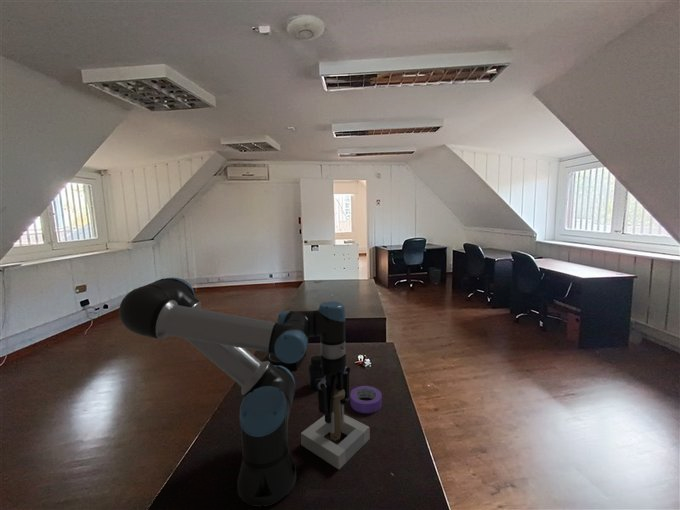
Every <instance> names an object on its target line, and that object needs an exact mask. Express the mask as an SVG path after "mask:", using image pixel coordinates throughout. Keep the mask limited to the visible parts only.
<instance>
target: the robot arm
mask: <svg viewBox="0 0 680 510" xmlns="http://www.w3.org/2000/svg"><path fill="white" fill-rule="evenodd" d="M201 303H202V302H201V301H200V300H198V299H197V297H196V295H195V290H194V288H193V287H192V285H191V284H190V283H189V282H187V280H185V279H182V278H179V277H166V278H161V279H157V280H155V281H154V282H151V283H148V284H145V285H142V286H139V287H137V288H134V289H133V290H131V291H129V292H128V293H127V294H125V296H124V298H122V300H121V302H120V304H119V308H118V315H119V316H118V317H119V319H120V322H121V323H122V325H124V327H125V328H126V329H128V331H130V332H132V333H134V334H137V335H140V336H143V337H147V338H151V339H152V338H155V339H159V340H164V339H166V338H169V337H175V338H180V339H185V340H186V341H187V342H188V343H190V345H192V347H194V348H195V349H196V350H197V351H199V352H200V353H201V354H203V355H204V356H205V357H206V358H207V359H209V361H211V362H212V363H213V364H214V365H215V366H217V368H219V369H220V370H221V371H223V372H224V373H225V374H226V375H227V376H228V377H229V378H230V379H232V380H233V381H234V382H236V383H237V384H238V385H239V386H240V388H241V391H240V393H241V395H242V397H243V399H242V401H241V403H240V407H239V412H238V414H239V415H238V416H239V419H238V421H239V427H240V437H241V452H242V460H241V465H240V469H239V473H238V476H237V479H236V480H237V481H236V483H237V495H238V497H239V499H240V498H241V499H240V500H241V501H242V502H243V503H244V502H245V503H247V504H250V505H258V506H259V505H260V506H264V505H269V504H272V503H274V502H277V501H279V500H280V499H282V498H284V497H285V496H286V495H287V496H289V495H290V493H291V492H292V491H293V489H294V488H295V485H296V483H297V466H296V463H295V461H294V458H293V455H292V453H291V451H290V448H289V432H288V431H289V429H288V424H289V423H288V422H289V418H290V414H291V409H292V405H293V400H294V398H295V396H296V395H295V393H296V382H295V381H296V380H295V377H294V375H293V374H292V372H291V370H288V369H287V368H285V367H283V366H276V365H273V364H272V363H270V362H269V361H265V362H262V361H261V360H260V359H259V358H258V357H257V356H255V355H254V354H253V353H252V352H251V351H258V352H262V353H263V352H264V353H268V354H269V353H273V354H276V356H277V358H278V359H280V360H281V361H282V362H284V363H295V362H297V361H299V360H300V359H301V358H302V357H303V356H304V354H305V351H307V348H308V346H309V338H311V337H312V338H313V337H315V338H316V337H319V338H320V339H319V340H320V345H319V346H320V356H321V367H322V369H323V376H322V378H323V379H322V380H321V381H320V382H316V386H317V389H316V390H317V398H318V399H317V402H318V413H321V414H323V415H325V422H326V430H327V431H329V433H330V432H331V433H334V432H335V431H334V412H333V411H332V406H333V396H334V390H335V389H338V390H343V389H344V390H345V397H344V398H343V399H342V400H340V408H341V419H342V425H344V415H345V405H347V404H348V399H350V372H351V367H348V366H347V354H346V352H347V351H346V350H347V349H346V311H345V305H344V304H343V303H342V302H338V301H326V302H322V303H320V304H319V308H318V309H316V310H287V311H281V312H279V314H278V317H277V322H275V321H269V320H264V319H263V320H262V319H259V318H258V319H257V318H253V317H247V316H240V315H235V314H231V313H226V312H225V313H224V312H218V311H212V310H209V309H208V310H207V309H202V304H201ZM249 350H251V351H249ZM287 496H286V497H287ZM286 497H285V498H286ZM285 498H284V499H285ZM245 503H244V504H245ZM247 504H246V505H247Z"/></svg>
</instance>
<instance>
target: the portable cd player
mask: <svg viewBox="0 0 680 510" xmlns="http://www.w3.org/2000/svg"><path fill="white" fill-rule="evenodd" d="M306 351H307V350H306ZM306 351H305V354H304V356H303V357H302V358H301V359H300V360H299V361H297V362H295V363H284V362H282V361H281V360H280V359H278V358H277V356H276V354H273V353H269V352H268V354H267V355H266V357H264V359H263V360H262V361H261V362H265V361H269V362H270V363H272V364H273V365H276V366H283V367H285V368H287V369H288V370H289V371H296V372H297V371H298V369H299V368H300V366H301V364H302V362H303V361H304V358H305V356H306V355H307V353H306Z"/></svg>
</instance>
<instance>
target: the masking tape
mask: <svg viewBox="0 0 680 510" xmlns="http://www.w3.org/2000/svg"><path fill="white" fill-rule="evenodd" d="M382 397H383V395H382V392H381V391H380V389H378V388H377V387H376V388H375V387H374V386H370V385H361V386H357V387H355V388H353V389H351V391H350V392H349V403H350V407H351V408H352V409H353V410H354V411H355V412H358V413H361V414H372V413H375V412H377V411H379V410H380V409H381V408H382V405H383V404H382V403H383V401H382ZM363 398H369V399H370V400H364V399H363Z"/></svg>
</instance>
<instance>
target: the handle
mask: <svg viewBox="0 0 680 510" xmlns="http://www.w3.org/2000/svg"><path fill="white" fill-rule="evenodd" d="M345 394H346V393H345V390H344V389H343V390H338V389H335V390H334V396H333V406H332V411H333V412H334V431H335V432H334V433H331V432H329V437H330V440H333V441H335V442H336V441H339V440H340V439H341V436H342V432H341V428H342V419H341V408H340V400H342V399H343V398H344V397H345Z"/></svg>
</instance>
